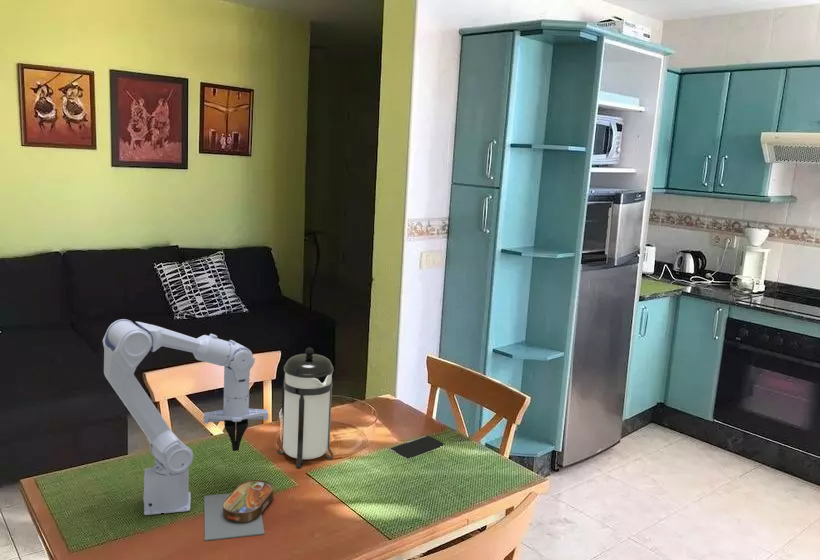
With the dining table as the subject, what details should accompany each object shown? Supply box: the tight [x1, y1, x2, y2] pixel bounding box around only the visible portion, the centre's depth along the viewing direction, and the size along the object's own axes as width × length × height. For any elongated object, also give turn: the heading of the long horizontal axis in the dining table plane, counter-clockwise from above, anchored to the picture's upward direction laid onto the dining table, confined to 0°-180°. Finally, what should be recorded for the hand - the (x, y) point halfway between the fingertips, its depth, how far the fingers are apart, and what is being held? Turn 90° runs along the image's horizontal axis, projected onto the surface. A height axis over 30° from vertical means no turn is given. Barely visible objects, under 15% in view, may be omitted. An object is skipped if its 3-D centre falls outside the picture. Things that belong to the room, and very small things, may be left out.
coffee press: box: [277, 347, 335, 469], centre depth 173 cm, size 17×16×30 cm
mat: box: [203, 492, 265, 542], centre depth 144 cm, size 12×18×1 cm, turn 17°
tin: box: [223, 479, 275, 522], centre depth 147 cm, size 15×3×8 cm
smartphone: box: [389, 435, 446, 459], centre depth 183 cm, size 8×1×15 cm
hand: (235, 449), depth 155 cm, fingers closed
